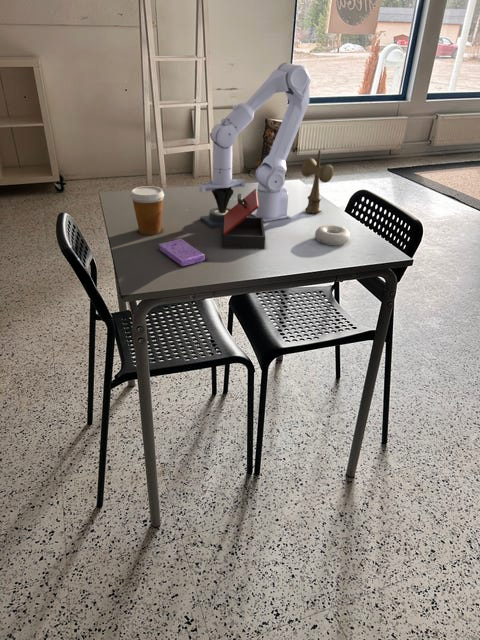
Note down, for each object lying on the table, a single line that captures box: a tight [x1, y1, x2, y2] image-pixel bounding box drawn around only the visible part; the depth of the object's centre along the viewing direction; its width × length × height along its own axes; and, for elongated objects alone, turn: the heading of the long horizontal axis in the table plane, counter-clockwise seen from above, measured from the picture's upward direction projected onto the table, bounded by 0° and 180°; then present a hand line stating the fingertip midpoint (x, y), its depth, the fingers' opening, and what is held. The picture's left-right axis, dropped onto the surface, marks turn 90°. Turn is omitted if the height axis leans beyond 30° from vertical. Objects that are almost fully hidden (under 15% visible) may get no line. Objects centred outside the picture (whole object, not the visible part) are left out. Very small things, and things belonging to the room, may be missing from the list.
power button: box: [214, 210, 228, 215], centre depth 154 cm, size 5×5×2 cm
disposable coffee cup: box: [130, 185, 165, 236], centre depth 143 cm, size 10×10×12 cm
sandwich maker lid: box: [223, 188, 259, 236], centre depth 138 cm, size 12×15×4 cm
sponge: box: [158, 238, 206, 267], centre depth 131 cm, size 7×13×2 cm, turn 35°
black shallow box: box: [223, 216, 266, 250], centre depth 142 cm, size 11×15×4 cm
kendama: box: [300, 149, 334, 214], centre depth 159 cm, size 6×10×20 cm, turn 35°
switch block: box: [200, 207, 232, 228], centre depth 154 cm, size 11×8×3 cm
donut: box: [314, 224, 351, 246], centre depth 143 cm, size 10×4×10 cm
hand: (222, 212), depth 153 cm, fingers closed, pressing on power button
